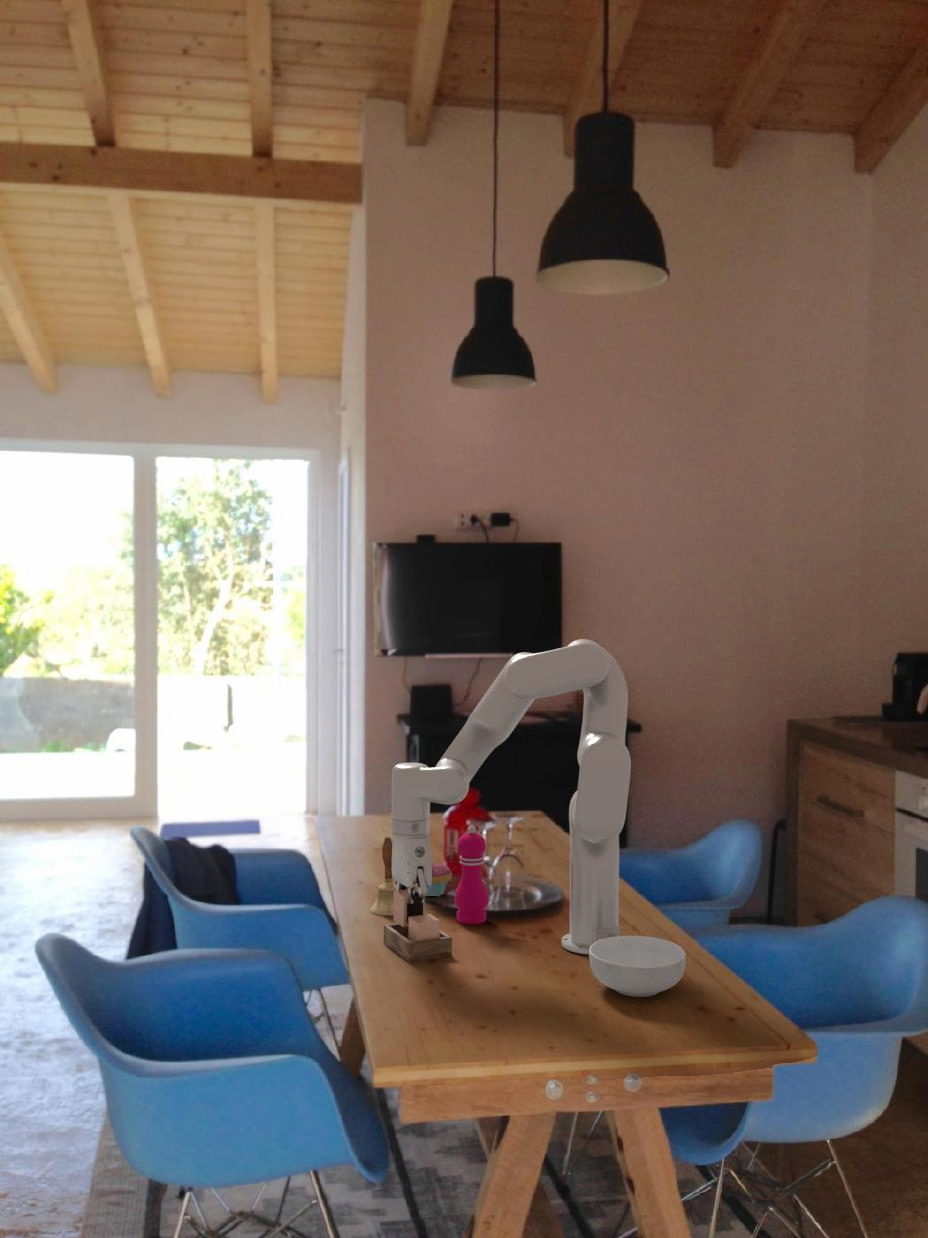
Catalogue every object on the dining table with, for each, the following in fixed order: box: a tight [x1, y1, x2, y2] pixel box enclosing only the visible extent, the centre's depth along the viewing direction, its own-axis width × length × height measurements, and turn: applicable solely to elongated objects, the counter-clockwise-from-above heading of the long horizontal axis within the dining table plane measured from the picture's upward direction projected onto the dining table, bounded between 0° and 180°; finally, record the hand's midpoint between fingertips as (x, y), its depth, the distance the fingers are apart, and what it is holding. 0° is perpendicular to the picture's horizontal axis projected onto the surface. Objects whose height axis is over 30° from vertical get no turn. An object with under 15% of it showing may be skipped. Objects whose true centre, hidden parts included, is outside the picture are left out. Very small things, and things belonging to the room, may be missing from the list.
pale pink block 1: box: [393, 889, 426, 927], centre depth 234 cm, size 4×4×6 cm
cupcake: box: [426, 862, 453, 896], centre depth 272 cm, size 9×8×12 cm
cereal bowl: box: [588, 935, 687, 998], centre depth 210 cm, size 17×17×7 cm
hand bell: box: [369, 836, 396, 917], centre depth 258 cm, size 8×8×16 cm
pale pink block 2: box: [409, 913, 440, 942], centre depth 229 cm, size 4×4×6 cm
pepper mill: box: [454, 825, 490, 925], centre depth 251 cm, size 7×7×20 cm
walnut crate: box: [383, 922, 453, 963], centre depth 232 cm, size 13×9×4 cm
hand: (409, 918), depth 235 cm, fingers closed on pale pink block 1, 4 cm apart
